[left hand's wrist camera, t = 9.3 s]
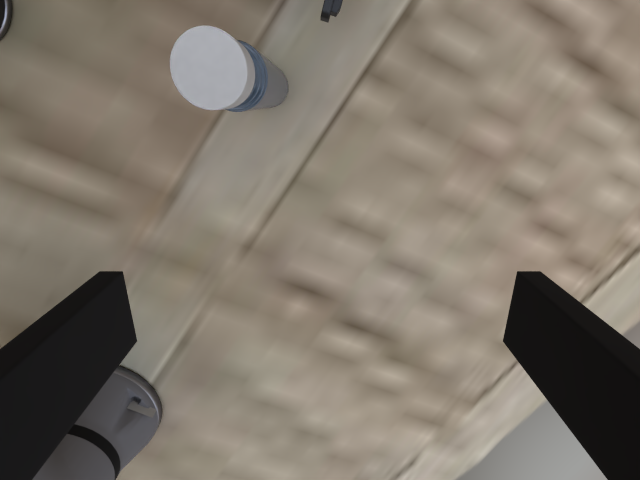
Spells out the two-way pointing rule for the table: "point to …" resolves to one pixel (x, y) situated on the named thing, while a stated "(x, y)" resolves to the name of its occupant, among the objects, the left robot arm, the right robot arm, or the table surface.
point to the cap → (211, 68)
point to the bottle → (264, 84)
